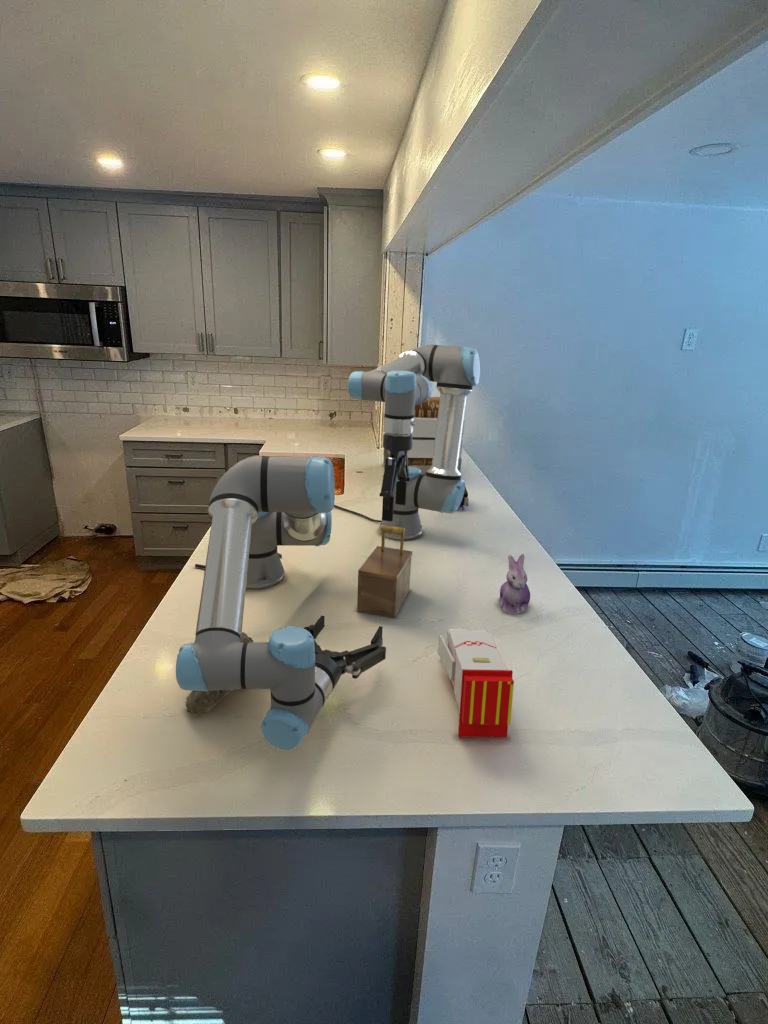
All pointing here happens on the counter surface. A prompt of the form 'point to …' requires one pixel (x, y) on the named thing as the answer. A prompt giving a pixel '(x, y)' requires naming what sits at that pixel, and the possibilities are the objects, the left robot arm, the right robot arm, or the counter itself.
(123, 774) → the counter surface
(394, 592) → the chest
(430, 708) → the counter surface
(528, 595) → the figurine
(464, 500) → the figurine character
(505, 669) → the toy
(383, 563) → the lid
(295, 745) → the left robot arm
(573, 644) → the counter surface
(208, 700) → the fossil
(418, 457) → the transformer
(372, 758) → the counter surface
